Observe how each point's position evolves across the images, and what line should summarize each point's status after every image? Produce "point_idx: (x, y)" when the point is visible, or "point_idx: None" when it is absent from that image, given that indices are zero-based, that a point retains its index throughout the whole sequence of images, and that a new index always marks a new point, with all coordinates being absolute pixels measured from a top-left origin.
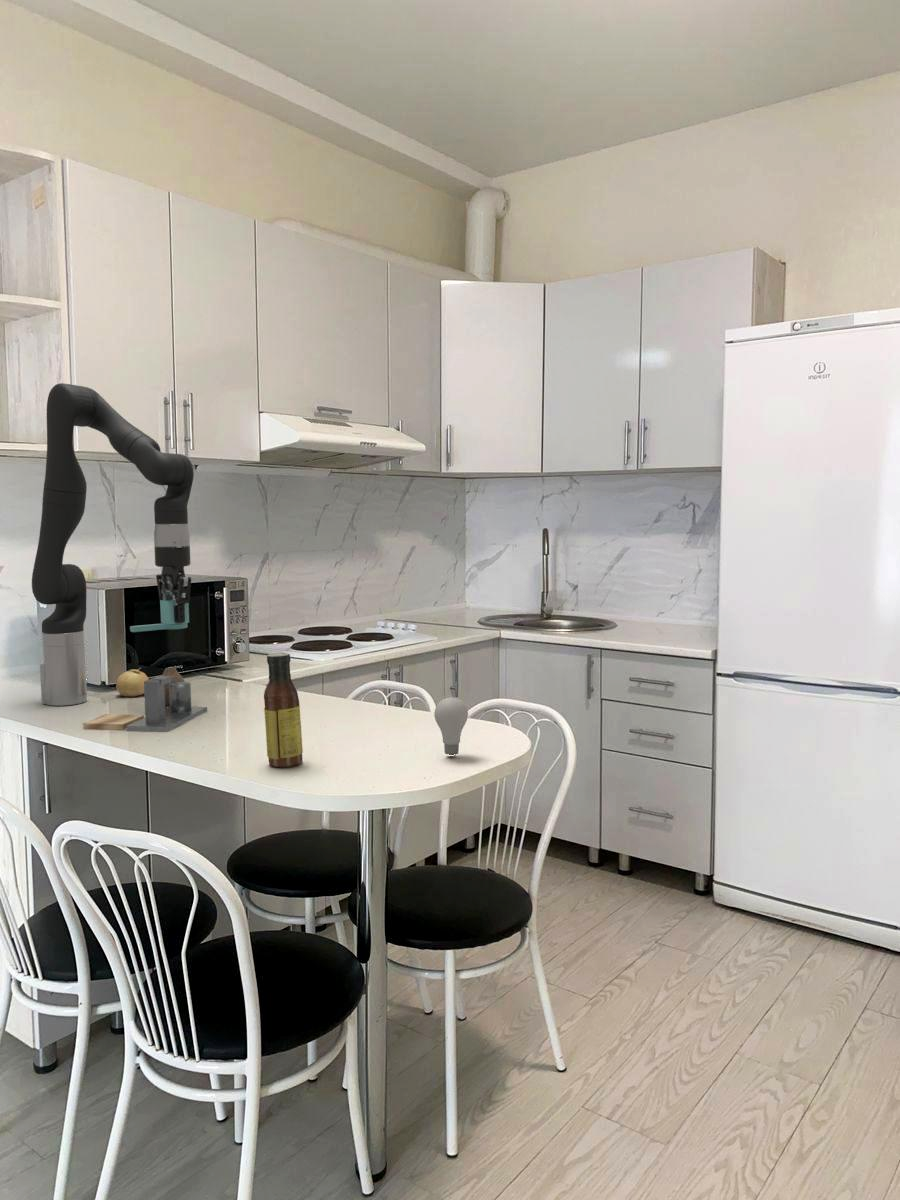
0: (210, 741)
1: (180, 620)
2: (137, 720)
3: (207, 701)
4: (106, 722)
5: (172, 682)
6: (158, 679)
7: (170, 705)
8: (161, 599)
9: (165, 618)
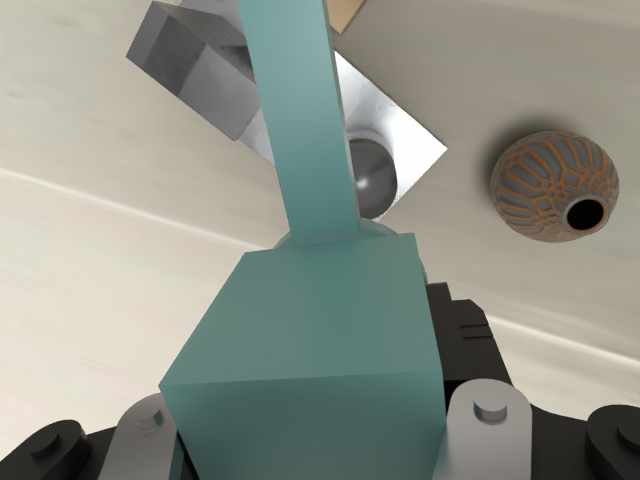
0: (20, 140)
1: None
2: None
3: (502, 270)
4: None
5: (513, 191)
6: (175, 73)
7: (359, 133)
8: (587, 421)
9: (309, 264)
